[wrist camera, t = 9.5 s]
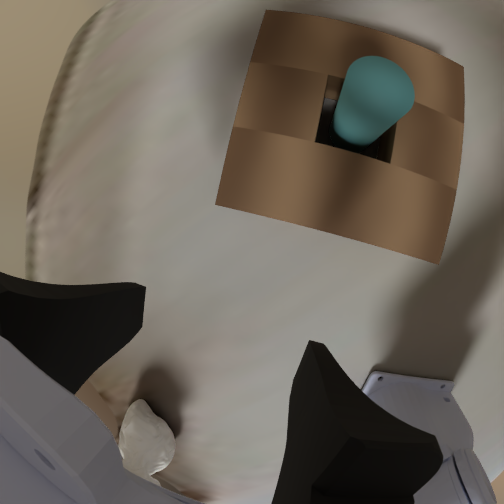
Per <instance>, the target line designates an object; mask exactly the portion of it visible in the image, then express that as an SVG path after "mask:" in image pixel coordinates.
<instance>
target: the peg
mask: <svg viewBox="0 0 504 504" xmlns="http://www.w3.org/2000/svg"><path fill="white" fill-rule="evenodd" d="M414 99H415V92H414V87H413V84H412V82H411V80H410V78H409V76H408V75H407V74H406V72H405V71H404V70H403V69H402V68H401V67H400V66H398V65H397V64H396V63H394V62H392V61H391V60H388V59H386V58H383V57H379V56H365V57H361V58H359V59H357V60H356V61H354V62H353V63H352V64H351V65H350V67H349V69H348V71H347V74H346V77H345V81H344V84H343V87H342V90H341V93H340V97H339V100H338V103H337V106H336V109H335V112H334V115H333V118H332V121H331V125H330V128H329V135H330V138H331V141H332V143H333V144H334V145H335V146H336V147H337V148H340V149H343V150H347V151H350V152H354V153H359V152H361V151H363V150H364V149H365V148H366V147H367V146H369V145H370V144H371V143H372V142H373V141H375V140H376V139H377V138H378V137H379V136H380V135H382V134H383V133H384V132H385V131H386V130H388V129H389V128H390V127H391V126H392V125H393V124H395V123H396V122H397V121H398V120H399V119H401V118H402V117H403V116H404V115H405V114H406V113H408V112H409V110H410V109H411V108H412V106H413V103H414Z"/></svg>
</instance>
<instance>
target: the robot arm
mask: <svg viewBox="0 0 504 504" xmlns="http://www.w3.org/2000/svg"><path fill="white" fill-rule="evenodd" d="M145 292H146V287H145V286H142V285H139V284H137V283H132V282H121V283H107V284H92V285H57V284H47V283H41V282H34V281H29V280H25V279H21V278H17V277H13V276H10V275H7V274H5V273H2V272H0V504H205V503H202V502H199V501H196V500H193V499H190V498H187V497H185V496H182V495H180V494H177V493H175V492H172V491H170V490H167V489H165V488H163V487H160V486H158V485H156V484H154V483H152V482H149V481H147V480H145V479H143V478H141V477H139V476H137V475H135V474H133V473H131V472H130V471H128V470H127V469H125V468H124V467H123V463H122V457H121V453H120V450H119V447H118V445H117V443H116V441H115V439H114V437H113V435H112V433H111V431H110V430H109V429H108V428H107V427H106V426H105V424H104V423H103V422H102V421H101V420H100V418H99V417H98V416H97V415H96V413H95V412H94V411H92V410H91V409H90V408H89V407H88V406H86V405H85V404H84V403H83V402H82V401H81V400H79V399H78V398H77V397H76V396H75V395H74V394H75V393H76V392H77V391H78V390H79V388H80V387H81V386H82V385H83V384H84V383H85V381H86V380H87V379H88V378H89V377H90V376H91V375H92V374H93V373H94V372H95V371H96V370H97V369H98V368H99V367H100V366H101V365H102V364H104V363H105V362H106V361H107V360H108V359H110V358H111V357H112V356H113V355H114V354H116V353H117V352H118V351H119V350H120V349H122V348H123V347H124V346H125V345H126V344H127V343H129V342H130V341H131V340H132V339H133V337H134V336H135V335H136V334H137V333H138V331H139V330H140V329H141V328H142V323H143V312H144V302H145ZM381 376H382V378H381V379H378V378H379V377H381ZM442 385H443V386H442ZM453 387H454V383H453V381H447V380H437V379H428V378H420V377H412V376H405V375H398V374H392V373H385V372H379V371H374V372H372V373H371V374H370V375H369V377H368V379H367V381H366V383H365V385H364V387H363V389H362V391H361V390H360V389H359V388H358V387H357V386H356V385H355V384H354V382H353V381H352V380H351V379H350V378H349V377H348V376H347V374H346V373H345V372H344V371H343V369H342V368H341V367H340V365H339V364H338V363H337V361H336V360H335V358H334V357H333V356H332V354H331V353H330V351H329V350H328V349H327V347H326V346H325V345H324V344H322V343H319V342H315V341H311V340H309V342H308V345H307V347H306V350H305V352H304V355H303V357H302V360H301V362H300V365H299V367H298V370H297V372H296V374H295V377H294V379H293V384H292V389H291V394H290V400H289V414H288V429H287V442H286V449H285V454H284V458H283V463H282V467H281V471H280V475H279V479H278V483H277V487H276V490H275V494H274V497H273V500H272V504H496V503H497V502H496V497H495V494H494V491H493V489H492V486H491V484H490V481H489V479H488V477H487V475H486V473H485V471H484V469H483V467H482V465H481V463H480V461H479V459H478V458H477V456H476V454H475V453H474V451H473V432H472V429H471V426H470V425H469V423H468V421H467V419H466V418H465V416H464V414H463V412H462V411H461V409H460V407H459V406H458V404H457V402H456V401H455V399H454V397H453V396H452V394H451V391H452V389H453Z"/></svg>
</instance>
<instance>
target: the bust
mask: <svg viewBox="0 0 504 504" xmlns="http://www.w3.org/2000/svg"><path fill="white" fill-rule="evenodd" d="M118 446H119V450H120V453H121V455H122V457H123V459H124V460H123V461H122V463H123V467H124V468H125V469H127V470H128V471H130V472H131V473H133V474H135V475H137V476H139V477H141V478H143V479H145V480H147V481H149V482H152V483H154V484H156V485H158V486H160V483H159V481H158V480H156V479H154V478H152V477H151V476H150V475H152V474H154V473H155V472H157V471H161V470H162V469H164V468H165V467H167V466H168V464H169V463H170V462H171V460H172V458H173V456H174V453H175V440H174V435H173V432H172V430H171V429H170V428H169V426H168V424H167V423H166V422H165V421H164V420H163V419H161V418H160V417H158V416H156V415H155V414H154V413H153V412H152V410H151V408H150V407H149V406H148V404H147V403H146V401H145V400H143V399H138V400H137V401H135V402H133V403H132V404H131V405H130V407H129V408H128V410H127V412H126V415H125V417H124V420H123V423H122V427H121V430H120V440H119V445H118ZM160 487H161V486H160Z"/></svg>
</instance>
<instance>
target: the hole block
mask: <svg viewBox="0 0 504 504" xmlns="http://www.w3.org/2000/svg"><path fill="white" fill-rule="evenodd" d="M365 56H379V57H383V58H386V59H388V60H391V61H392V62H394V63H396V64H397V65H398V66H400V67H401V68H402V69H403V70H404V71H405V72H406V74H407V75H408V76H409V78H410V80H411V82H412V84H413V87H414V92H415V99H414V103H413V106H412V108H411V109H410V110H409V112H408V113H406V114H405V115H404V116H403V117H402V118H401V119H399V120H398V121H397V122H396V123H395V124H393V125H392V126H391V127H390V128H389V129H388V130H386V131H385V132H384V133H383V134H382V135H381V137H380V143H379V148H378V154H377V159H374V158H371V157H367V156H364V155H361V154H357V153H354V152H350V151H347V150H343V149H340V148H336V147H332V146H328V145H324V144H320V143H316V137H317V132H318V128H319V123H320V118H321V113H322V108H323V103H324V98H329V99H333V100H337V101H338V100H339V97H340V93H341V90H342V87H343V84H344V81H345V77H346V74H347V71H348V69H349V67H350V65H351V64H352V63H353V62H354V61H356V60H357V59H359V58H361V57H365ZM464 103H465V94H464V67H463V66H461V65H459V64H458V63H456V62H454V61H452V60H450V59H448V58H446V57H444V56H442V55H439V54H437V53H435V52H433V51H431V50H428V49H426V48H424V47H421V46H419V45H417V44H414V43H412V42H409V41H406V40H404V39H401V38H398V37H396V36H393V35H390V34H387V33H384V32H381V31H377V30H374V29H371V28H367V27H364V26H360V25H356V24H352V23H348V22H344V21H340V20H335V19H330V18H325V17H320V16H314V15H308V14H301V13H293V12H285V11H275V10H266V11H265V14H264V18H263V21H262V24H261V27H260V30H259V34H258V37H257V40H256V44H255V47H254V50H253V54H252V57H251V61H250V64H249V68H248V72H247V75H246V79H245V82H244V86H243V90H242V94H241V97H240V101H239V105H238V109H237V113H236V117H235V121H234V125H233V129H232V133H231V137H230V141H229V145H228V150H227V154H226V158H225V162H224V167H223V171H222V176H221V180H220V185H219V189H218V194H217V199H216V203H215V205H219V206H223V207H228V208H232V209H236V210H241V211H245V212H249V213H253V214H257V215H262V216H266V217H270V218H274V219H278V220H282V221H286V222H290V223H294V224H298V225H302V226H305V227H309V228H313V229H317V230H321V231H325V232H328V233H332V234H336V235H339V236H343V237H347V238H350V239H354V240H357V241H361V242H365V243H368V244H372V245H375V246H378V247H382V248H385V249H389V250H392V251H396V252H399V253H402V254H406V255H409V256H412V257H415V258H419V259H422V260H425V261H428V262H431V263H435V264H438V265H439V262H440V259H441V255H442V252H443V248H444V245H445V241H446V237H447V233H448V229H449V225H450V220H451V216H452V211H453V206H454V201H455V196H456V190H457V184H458V178H459V171H460V163H461V154H462V144H463V131H464Z"/></svg>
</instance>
